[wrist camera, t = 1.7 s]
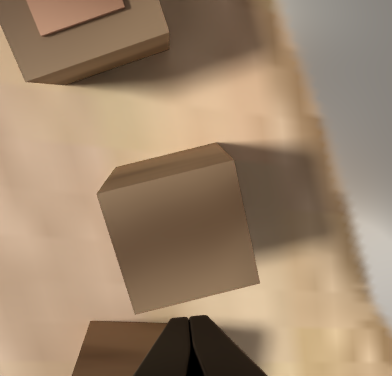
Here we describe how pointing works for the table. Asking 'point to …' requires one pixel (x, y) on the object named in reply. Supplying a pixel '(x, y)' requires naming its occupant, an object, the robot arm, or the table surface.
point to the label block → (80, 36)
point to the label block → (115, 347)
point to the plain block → (179, 227)
